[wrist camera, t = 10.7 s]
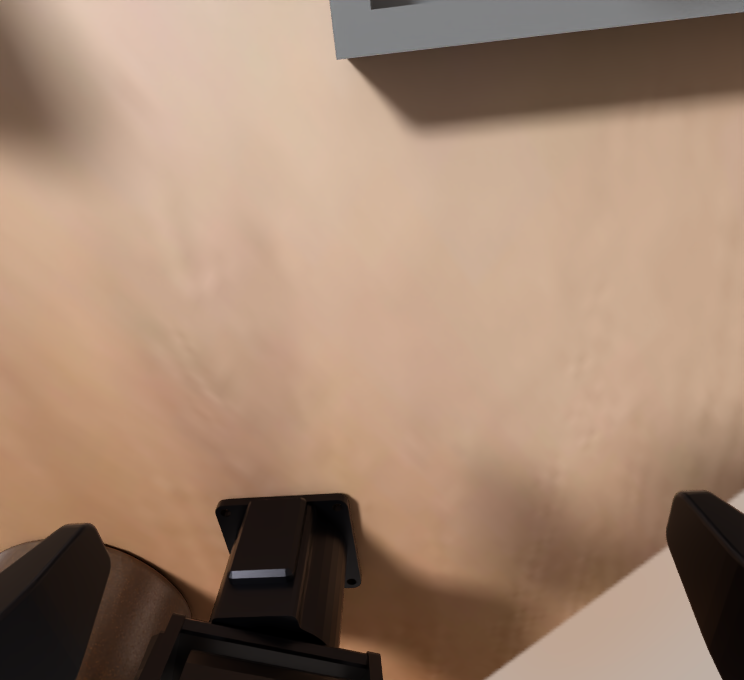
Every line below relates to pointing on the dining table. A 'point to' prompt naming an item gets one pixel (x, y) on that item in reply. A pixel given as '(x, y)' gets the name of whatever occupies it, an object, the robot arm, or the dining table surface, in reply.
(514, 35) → the tray
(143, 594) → the plant pot
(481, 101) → the dining table surface
